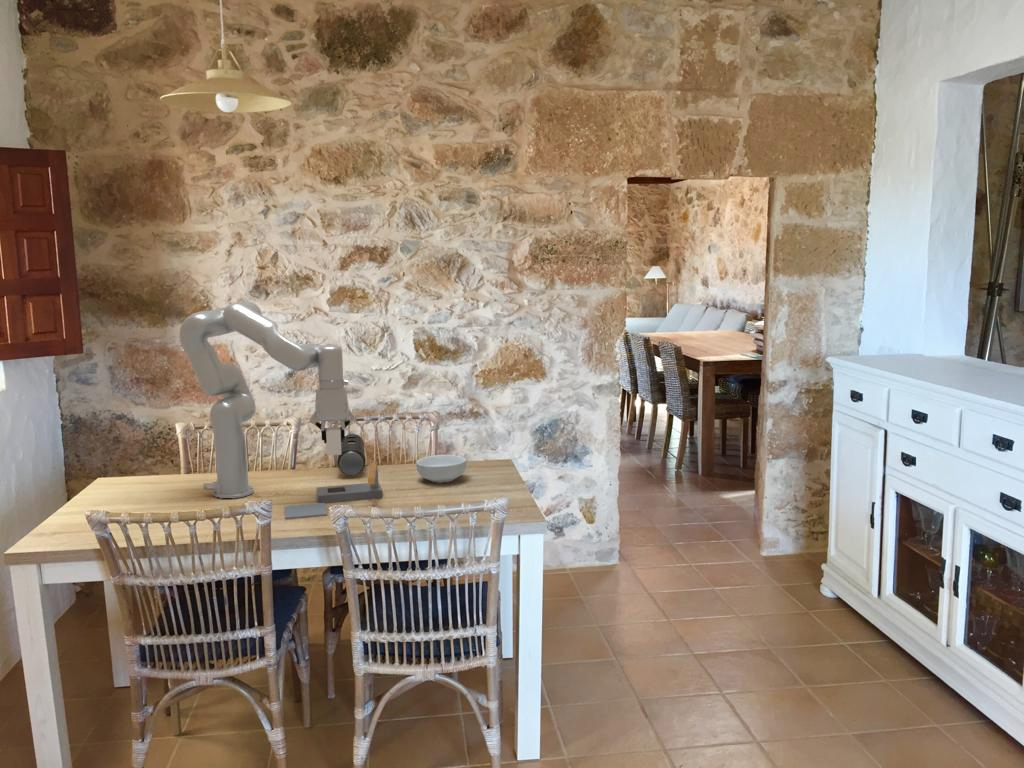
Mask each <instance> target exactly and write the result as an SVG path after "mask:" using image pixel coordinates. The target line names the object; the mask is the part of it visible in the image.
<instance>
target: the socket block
mask: <svg viewBox="0 0 1024 768" xmlns="http://www.w3.org/2000/svg"><path fill="white" fill-rule="evenodd" d="M378 470H379V469H378V468H377V469H376V475H375V482H374V484H368V482H364V483H354V484H353V483H352V484H341V485H330V486H318V487H316V497H317V503H324V502H325V504H328V503H329V504H330V503H331V504H332V503H338V502H339V503H340V502H341V503H342V502H350V501H353V502H354V501H364V500H372V498H376V499H383V498H384V497H383V496H384V494H383V488H382V486H381V484H380V482H379V471H378ZM382 497H383V498H382ZM363 499H364V500H363Z"/></svg>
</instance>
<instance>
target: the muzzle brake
mask: <svg viewBox="0 0 1024 768" xmlns="http://www.w3.org/2000/svg"><path fill="white" fill-rule="evenodd" d="M337 456H338V457H337V467H338V469H339V471H340V472H341V473H342V474H345V475H347V476H355V475H358V474H360V473H361V472H363V470H364V469H365V467H366V457H365V442H364V439H363V438H362V437H361V436H360V435H358V434H355V433H351V434H350V433H349V434H347V435H345V439H343V442H341V455H337Z"/></svg>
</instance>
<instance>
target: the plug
mask: <svg viewBox="0 0 1024 768" xmlns="http://www.w3.org/2000/svg"><path fill="white" fill-rule="evenodd" d="M325 429H326V442H327V443H325V451H326V452H325V453H326V456H327V457H329V456H338V455H341V430H340V426H336V427H334V426H333V427H331V426H330V427H325Z"/></svg>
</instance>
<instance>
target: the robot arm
mask: <svg viewBox="0 0 1024 768" xmlns="http://www.w3.org/2000/svg"><path fill="white" fill-rule="evenodd" d="M234 332H237V333H239V334H241V335H242V336H244V337H246V338H247V339H249V340H251V341H253V342H254V343H256V344H258V345H260V347H262V349H263V350H264V351H265V352H266V353H267V355H269V356H270V357H271V358H272V359H274V360H275V361H276V362H278V363H280V364H281V365H283V366H285V367H286V368H288V369H291V370H293V371H297V372H300V371H301V372H302V371H305V370H308V369H312V368H315V367H317V368H318V369H317V371H318V374H317V375H318V388H317V389H316V390H315V391H316V392H315V400H314V401H315V402H314V403H315V409H314V412H313V413H312V415H311V416H310V418H309V422H310V423H311V424H313V425H314V426H315V427H316V428H318V429H319V430H320V431H321V441H323V442H324V444H326V443H327V442H326V429H325V428H326V425H327V424H326V423H327V422H336V421H337V422H339V425H340V426H339V427H340V430H341V442H343V439H345V436H346V428H348V426H349V425H350V424H351V423H352V422H354V421H355V420H356V416H355V415H354V414H353V412H352V411H351V409H350V408H349V399H348V392H347V388H346V387H345V386H346V385H347V386H348V385H349V381H348V380H346V379H344V367H343V366H344V363H343V361H344V359H343V349H342V347H341V346H340V345H337V344H336V345H335V344H326V345H324V344H318V343H317V344H315V343H306V344H301V345H296V344H295V343H293V342H292V341H290V340H288V339H286V338H285V337H284V336H283V335H281V334H280V332H279V330H278V324H277V322H275V321H274V320H271V319H270V318H268V317H266V316H265V315H263V313H262V310H261V308H260V307H259V305H258V304H256V303H255V302H253V301H249V300H246V301H237V302H232V303H230V304H228V305H227V306H225V307H221V308H216V309H212V310H211V309H210V310H203V311H197V312H194V313H191V314H190V315H189V316H187V317H186V318H185V319H184V320H183V322H182V323H181V325H180V329H179V335H178V336H179V342H180V345H181V347H182V350H183V351H184V353H185V354H186V356H187V359H188V361H189V363H190V364H191V367H192V370H193V373H194V374H195V377H196V378H197V381H198V383H199V385H200V388H201V390H202V392H203V393H204V394H205V395H207V396H209V397H219V396H222V397H223V398H221V399H219V400H218V401H216V402H215V403H214V404H213V405H212V407H211V408H210V412H209V420H210V423H211V429H212V433H213V439H214V452H215V466H216V478H217V479H216V481H213V482H212V483H209V482H208V483H207V482H206V483H203V484H202V488H203V490H206V491H213V492H212V495H213V497H214V496H215V498H217V497H219V498H218V499H222V498H232V499H239V498H243V497H247V496H250V495H252V494H253V493H254V492H255V490H254V489H255V488H254V487H253V486H252V485H249V473H248V472H249V471H248V470H249V469H248V456H247V444H246V443H247V442H246V434H245V432H244V429H243V426H242V424H243V423H245V422H248V421H249V420H251V419H252V418H253V417H254V415H255V413H256V407H257V406H256V403H255V402H256V401H255V400H254V396H253V394H252V393H251V391H250V388H249V386H248V383H247V381H246V378H245V377H244V375H243V373H242V372H241V370H240V369H239V368H238V367H237V366H235V365H234V364H232V363H222V362H221V360H220V359H219V355H218V354H217V351H216V349H215V347H214V346H212V345H211V343H210V342H209V340H208V339H209V338H213V337H219V336H223V335H227V334H231V333H234ZM320 422H321V423H320Z"/></svg>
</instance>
